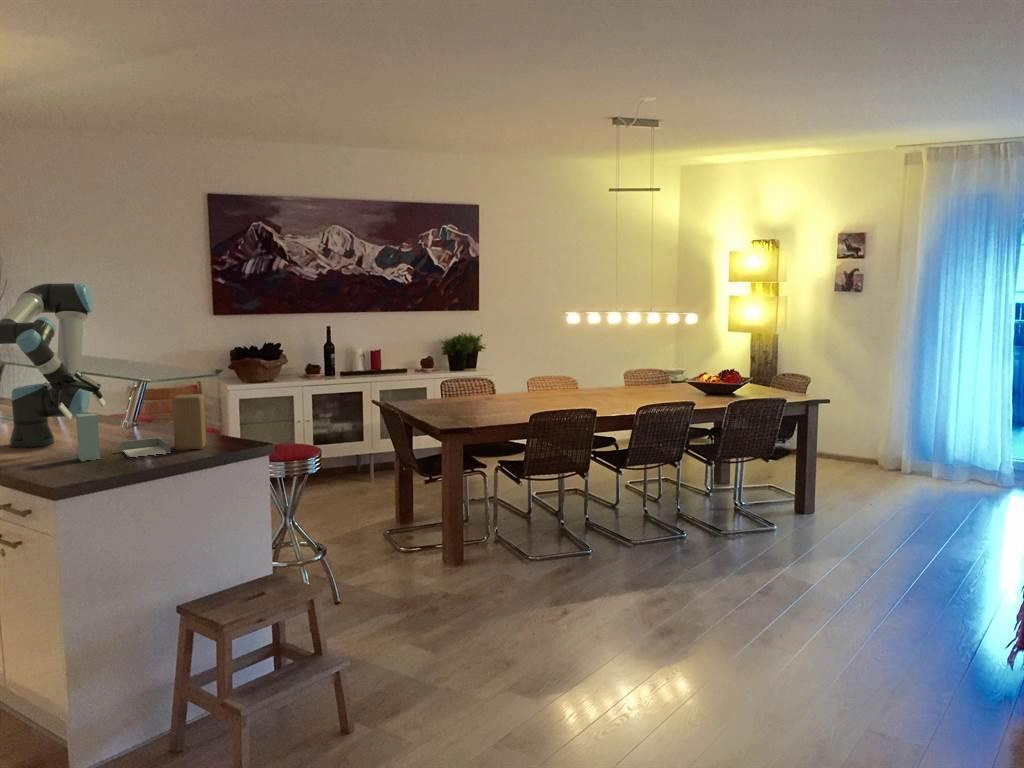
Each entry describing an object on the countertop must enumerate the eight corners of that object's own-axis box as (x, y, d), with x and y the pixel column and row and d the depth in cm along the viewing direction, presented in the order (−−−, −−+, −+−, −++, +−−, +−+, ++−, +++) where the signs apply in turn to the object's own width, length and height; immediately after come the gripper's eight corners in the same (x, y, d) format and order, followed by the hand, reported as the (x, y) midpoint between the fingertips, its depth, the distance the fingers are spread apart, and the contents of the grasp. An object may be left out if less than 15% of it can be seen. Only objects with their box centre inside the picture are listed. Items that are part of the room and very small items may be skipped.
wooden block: (174, 450, 319) (171, 397, 317) (179, 445, 329) (176, 394, 326) (202, 449, 321) (200, 397, 319) (206, 444, 331) (204, 393, 328)
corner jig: (122, 451, 318) (121, 441, 317) (161, 447, 326) (161, 437, 325) (129, 458, 306) (128, 447, 306) (170, 453, 314) (169, 442, 314)
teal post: (79, 458, 306) (76, 414, 304) (97, 456, 310) (94, 413, 308) (81, 461, 301) (78, 416, 299) (100, 459, 305) (97, 415, 303)
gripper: (17, 386, 303) (54, 429, 316) (81, 362, 302) (116, 405, 315) (22, 374, 309) (59, 416, 322) (86, 350, 308) (120, 393, 321)
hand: (87, 411), depth 318 cm, fingers open, 13 cm apart
